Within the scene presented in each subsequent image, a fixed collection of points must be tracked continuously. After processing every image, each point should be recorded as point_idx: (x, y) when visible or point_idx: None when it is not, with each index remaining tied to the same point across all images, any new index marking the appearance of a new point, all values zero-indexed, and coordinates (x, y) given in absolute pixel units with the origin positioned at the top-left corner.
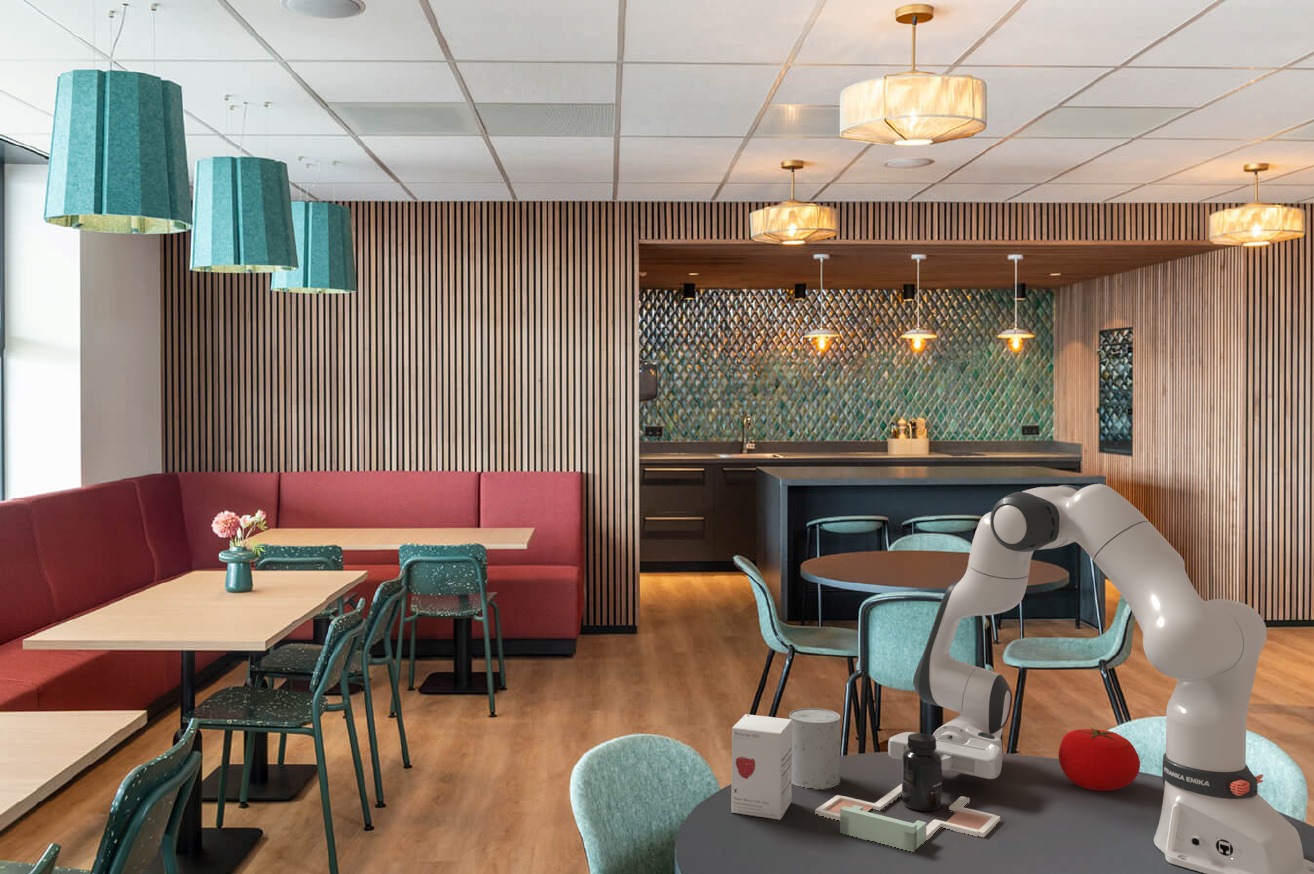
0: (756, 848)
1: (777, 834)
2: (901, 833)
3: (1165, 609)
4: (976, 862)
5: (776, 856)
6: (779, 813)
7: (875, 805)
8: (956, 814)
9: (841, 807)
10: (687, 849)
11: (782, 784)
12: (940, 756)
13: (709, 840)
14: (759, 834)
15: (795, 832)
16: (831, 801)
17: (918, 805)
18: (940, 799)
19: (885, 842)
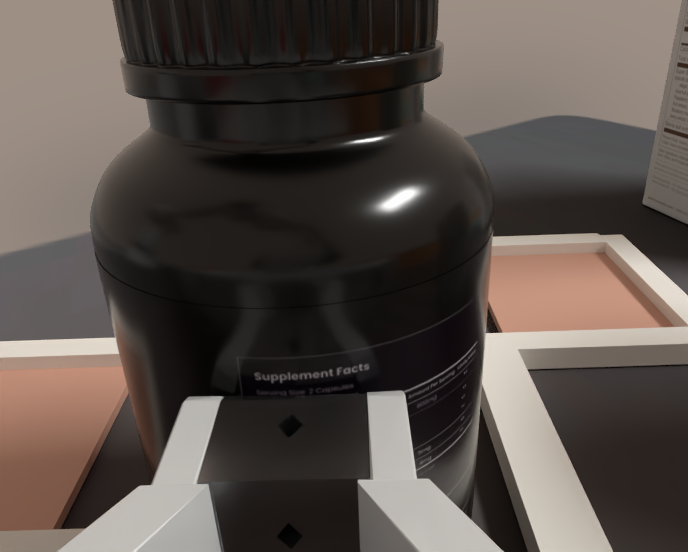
0: (530, 147)
1: (560, 175)
2: None
3: None
4: (18, 252)
5: (472, 147)
6: (647, 184)
7: (495, 337)
8: (58, 492)
9: (603, 298)
10: (610, 122)
11: (678, 100)
12: (97, 194)
13: (625, 137)
14: (588, 166)
15: (540, 189)
16: (662, 287)
17: None
18: None
19: None
